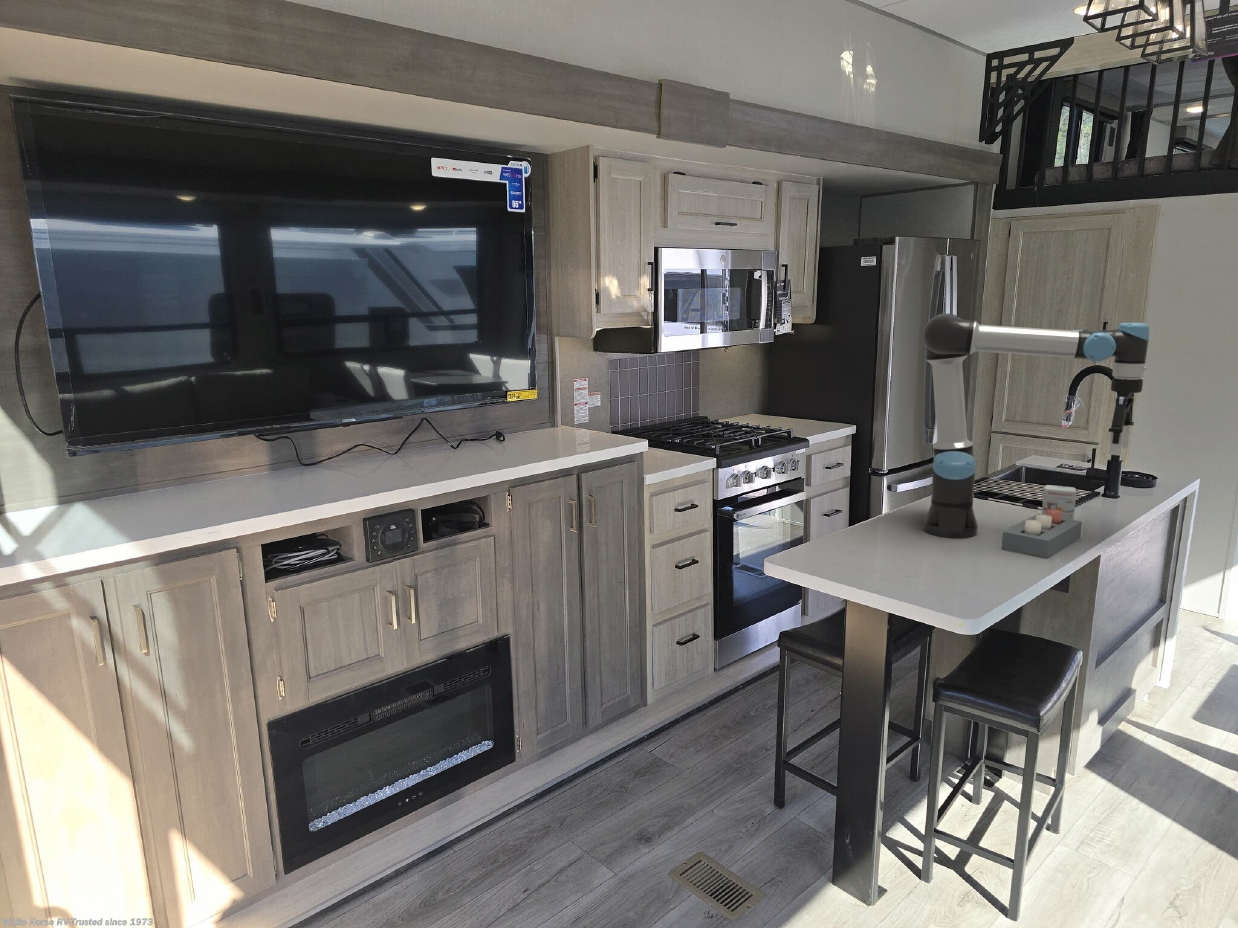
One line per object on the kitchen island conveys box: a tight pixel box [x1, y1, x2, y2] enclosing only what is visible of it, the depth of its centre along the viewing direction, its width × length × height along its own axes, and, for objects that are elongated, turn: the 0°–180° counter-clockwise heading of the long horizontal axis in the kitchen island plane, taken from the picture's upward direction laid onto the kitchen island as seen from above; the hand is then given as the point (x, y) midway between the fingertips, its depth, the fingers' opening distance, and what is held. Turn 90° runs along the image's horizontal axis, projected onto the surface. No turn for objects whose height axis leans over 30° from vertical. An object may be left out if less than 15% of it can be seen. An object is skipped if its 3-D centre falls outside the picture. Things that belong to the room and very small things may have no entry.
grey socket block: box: [1001, 513, 1083, 559], centre depth 224 cm, size 25×12×5 cm, turn 132°
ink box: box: [1041, 484, 1077, 520], centre depth 240 cm, size 8×5×12 cm, turn 62°
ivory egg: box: [1024, 519, 1042, 536], centre depth 219 cm, size 4×4×5 cm
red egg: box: [1046, 509, 1062, 524], centre depth 228 cm, size 4×4×5 cm
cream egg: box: [1035, 513, 1052, 530], centre depth 223 cm, size 4×4×5 cm
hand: (1118, 451), depth 228 cm, fingers open, 13 cm apart
